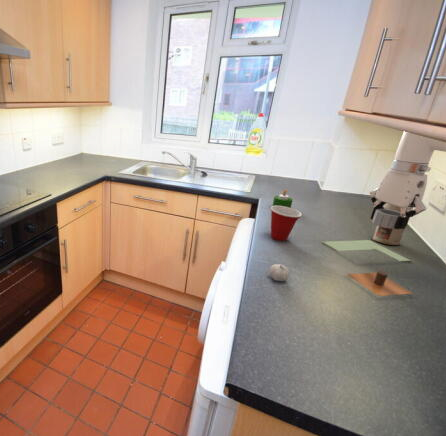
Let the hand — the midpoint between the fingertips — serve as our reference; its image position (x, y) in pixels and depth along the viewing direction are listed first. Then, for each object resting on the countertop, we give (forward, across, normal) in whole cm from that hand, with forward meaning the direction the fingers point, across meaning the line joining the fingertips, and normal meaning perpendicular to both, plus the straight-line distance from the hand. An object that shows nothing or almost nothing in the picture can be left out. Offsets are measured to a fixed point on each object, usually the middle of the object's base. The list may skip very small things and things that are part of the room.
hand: (386, 223), depth 92 cm
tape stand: (+16, -10, +8) cm, 20 cm away
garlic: (+16, -3, +36) cm, 39 cm away
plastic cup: (+16, +24, +17) cm, 33 cm away
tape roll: (0, 0, 0) cm, 0 cm away
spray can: (+16, +16, -24) cm, 33 cm away
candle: (+16, +56, -6) cm, 58 cm away
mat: (+16, +10, -8) cm, 20 cm away
